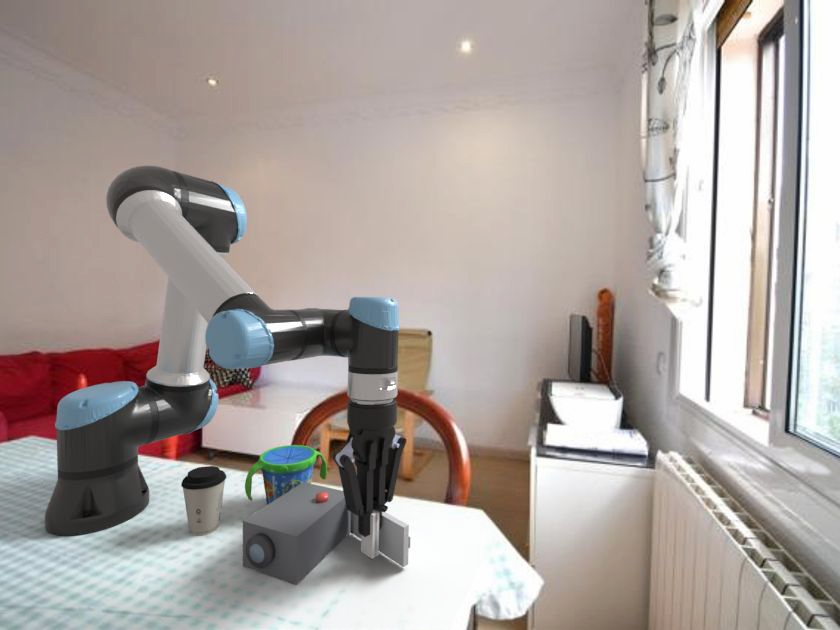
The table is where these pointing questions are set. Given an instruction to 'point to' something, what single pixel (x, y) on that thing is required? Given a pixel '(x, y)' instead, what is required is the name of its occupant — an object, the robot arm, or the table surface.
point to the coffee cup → (203, 499)
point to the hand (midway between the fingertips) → (369, 552)
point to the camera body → (295, 532)
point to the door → (389, 537)
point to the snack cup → (285, 469)
